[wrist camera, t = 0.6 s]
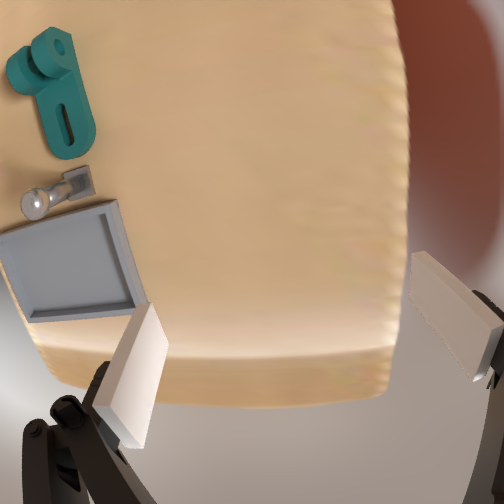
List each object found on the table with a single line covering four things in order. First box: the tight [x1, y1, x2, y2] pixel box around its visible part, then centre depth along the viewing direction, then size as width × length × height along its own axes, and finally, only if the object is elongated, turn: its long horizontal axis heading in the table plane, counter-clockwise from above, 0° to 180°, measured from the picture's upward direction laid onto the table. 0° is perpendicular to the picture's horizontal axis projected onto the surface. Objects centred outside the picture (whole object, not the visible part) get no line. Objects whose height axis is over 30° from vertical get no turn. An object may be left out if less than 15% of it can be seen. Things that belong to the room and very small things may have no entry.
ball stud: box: [20, 165, 96, 220], centre depth 30 cm, size 4×4×13 cm
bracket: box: [6, 27, 96, 160], centre depth 28 cm, size 18×7×8 cm, turn 17°
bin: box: [0, 200, 148, 323], centre depth 40 cm, size 16×24×2 cm, turn 99°
